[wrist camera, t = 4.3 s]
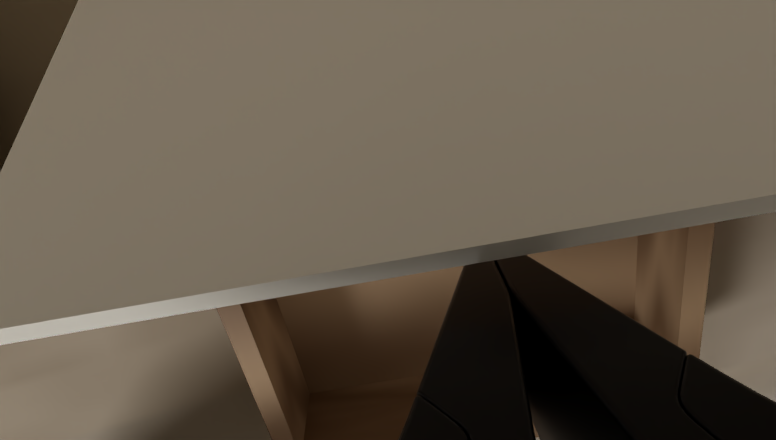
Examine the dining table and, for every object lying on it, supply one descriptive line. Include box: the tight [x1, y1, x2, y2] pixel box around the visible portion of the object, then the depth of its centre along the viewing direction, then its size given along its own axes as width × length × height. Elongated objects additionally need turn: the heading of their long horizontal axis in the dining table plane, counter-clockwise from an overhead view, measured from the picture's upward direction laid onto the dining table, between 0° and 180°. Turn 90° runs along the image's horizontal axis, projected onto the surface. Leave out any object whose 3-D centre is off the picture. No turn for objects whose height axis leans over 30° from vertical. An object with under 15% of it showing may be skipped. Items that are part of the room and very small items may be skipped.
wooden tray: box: [217, 223, 715, 440], centre depth 18 cm, size 18×16×4 cm
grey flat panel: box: [0, 0, 776, 345], centre depth 9 cm, size 9×15×1 cm
